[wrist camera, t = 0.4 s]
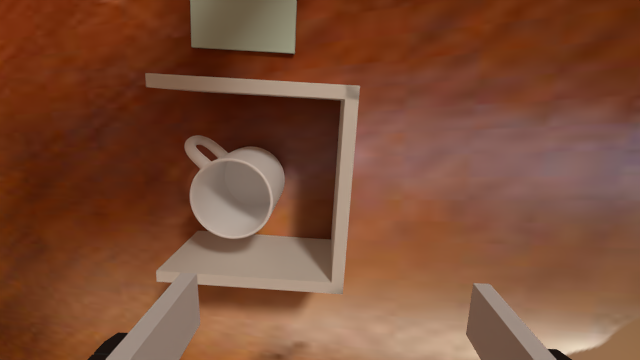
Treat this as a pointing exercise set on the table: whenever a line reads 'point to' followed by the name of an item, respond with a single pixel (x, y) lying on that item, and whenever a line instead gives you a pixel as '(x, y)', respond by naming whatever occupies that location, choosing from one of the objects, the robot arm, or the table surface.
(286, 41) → the mat
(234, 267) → the cubby
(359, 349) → the table surface
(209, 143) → the cup
